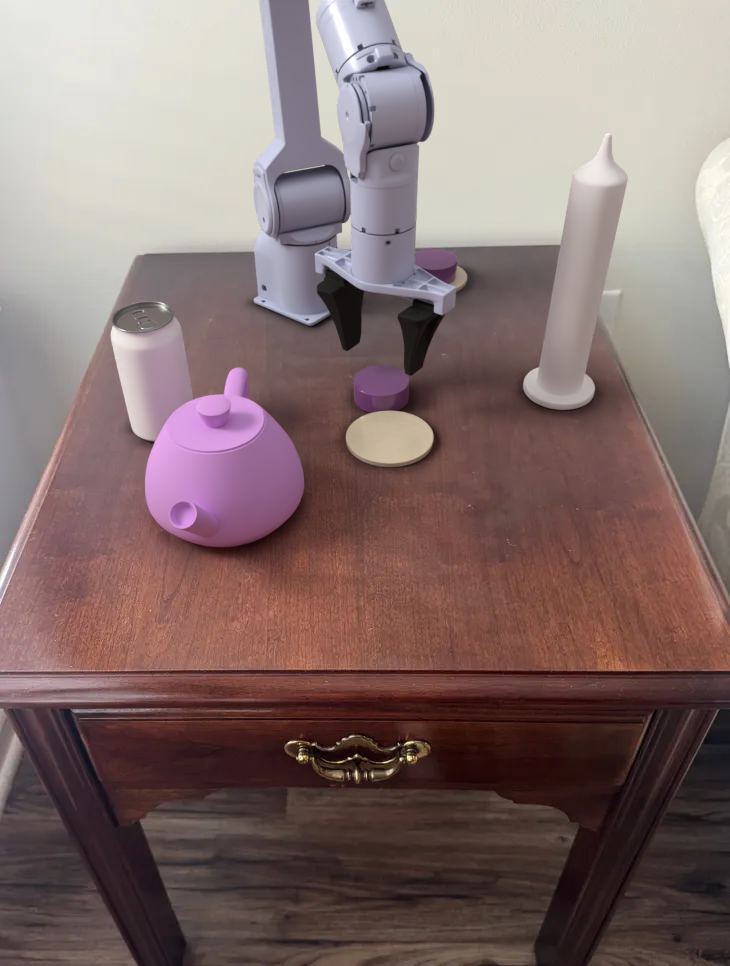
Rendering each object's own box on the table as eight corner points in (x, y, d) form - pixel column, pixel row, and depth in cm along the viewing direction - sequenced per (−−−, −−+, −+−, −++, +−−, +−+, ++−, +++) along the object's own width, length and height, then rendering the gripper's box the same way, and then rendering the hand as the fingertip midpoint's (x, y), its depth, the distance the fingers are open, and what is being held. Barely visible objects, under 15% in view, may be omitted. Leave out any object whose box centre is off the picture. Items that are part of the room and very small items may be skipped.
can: (144, 452, 82) (119, 341, 74) (123, 417, 86) (97, 309, 78) (206, 431, 84) (189, 322, 76) (183, 399, 88) (164, 292, 80)
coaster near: (327, 444, 82) (327, 440, 81) (382, 404, 86) (382, 400, 86) (397, 479, 78) (397, 475, 77) (450, 435, 82) (451, 431, 82)
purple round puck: (404, 282, 104) (405, 265, 102) (417, 262, 108) (418, 246, 106) (449, 289, 102) (450, 272, 101) (461, 268, 106) (462, 252, 104)
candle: (591, 415, 84) (653, 153, 66) (518, 404, 85) (560, 146, 68) (596, 375, 89) (655, 121, 71) (527, 366, 90) (568, 115, 73)
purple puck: (342, 400, 87) (342, 382, 85) (376, 377, 90) (377, 358, 88) (385, 421, 84) (386, 402, 83) (419, 395, 87) (420, 377, 86)
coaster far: (384, 282, 105) (384, 279, 105) (425, 258, 109) (425, 254, 109) (440, 303, 101) (440, 299, 101) (480, 276, 105) (480, 272, 105)
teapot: (114, 584, 69) (83, 483, 62) (181, 436, 83) (163, 340, 76) (280, 599, 67) (269, 497, 60) (320, 446, 82) (316, 348, 74)
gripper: (479, 225, 73) (467, 363, 82) (346, 189, 80) (348, 319, 89) (433, 255, 69) (425, 396, 79) (297, 214, 76) (305, 348, 85)
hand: (381, 358), depth 84 cm, fingers open, 7 cm apart
